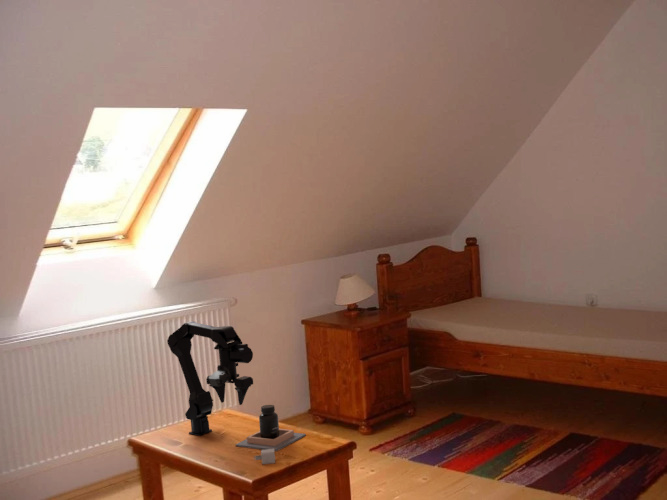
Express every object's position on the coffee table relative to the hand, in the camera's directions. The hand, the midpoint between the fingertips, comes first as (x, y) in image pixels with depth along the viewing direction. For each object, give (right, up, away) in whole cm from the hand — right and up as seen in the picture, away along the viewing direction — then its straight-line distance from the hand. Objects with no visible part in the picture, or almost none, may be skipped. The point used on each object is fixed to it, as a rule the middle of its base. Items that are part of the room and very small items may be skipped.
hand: (231, 403), depth 291 cm
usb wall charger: (+15, -14, -29) cm, 35 cm away
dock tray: (+15, -12, -6) cm, 20 cm away
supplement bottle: (+15, -12, -6) cm, 20 cm away
